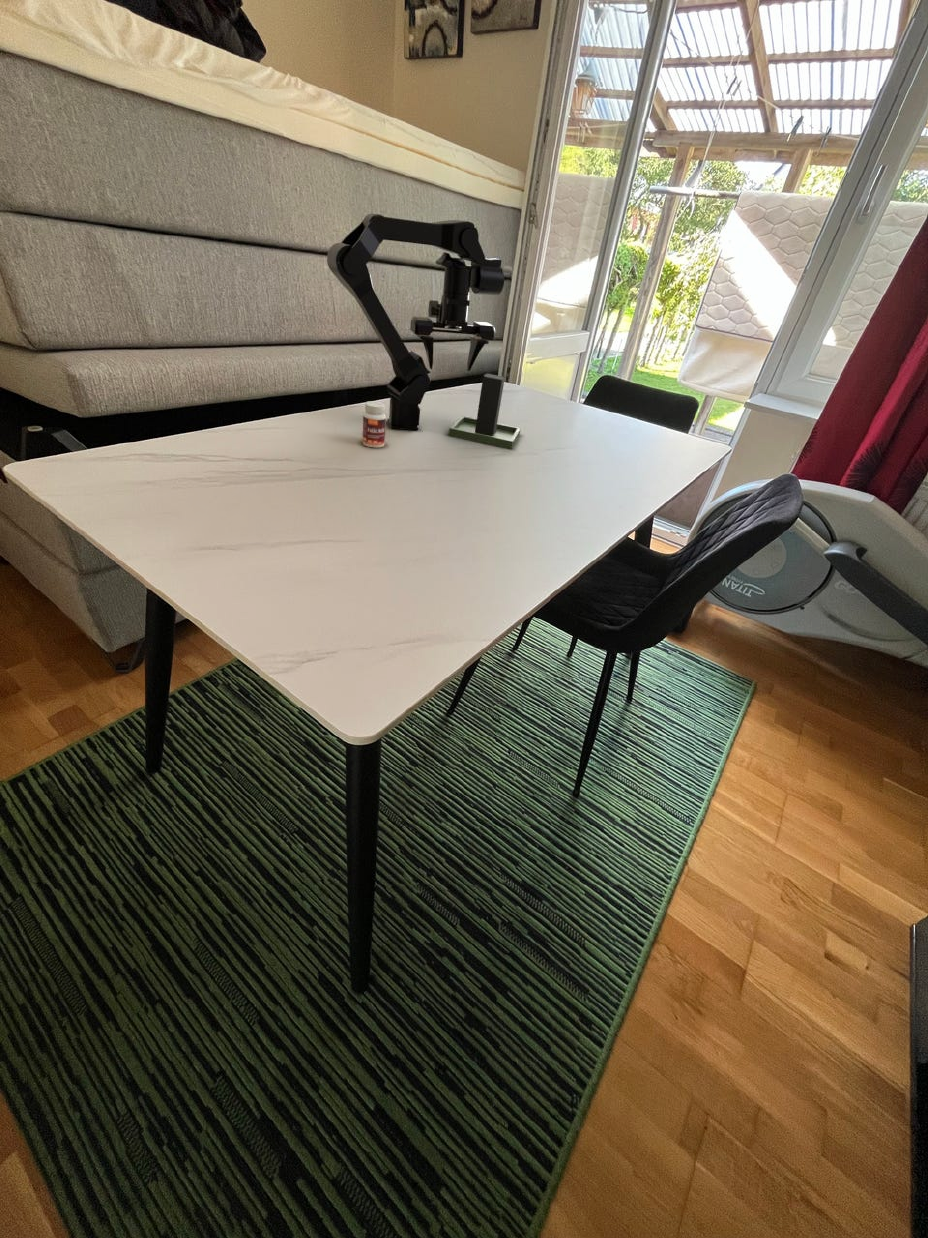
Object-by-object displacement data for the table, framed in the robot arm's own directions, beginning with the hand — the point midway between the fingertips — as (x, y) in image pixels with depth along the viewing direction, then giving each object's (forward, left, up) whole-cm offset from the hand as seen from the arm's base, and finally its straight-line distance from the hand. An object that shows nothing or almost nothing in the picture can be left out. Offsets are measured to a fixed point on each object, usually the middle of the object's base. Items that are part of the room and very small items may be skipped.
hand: (449, 369), depth 122 cm
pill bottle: (-20, -16, -13) cm, 29 cm away
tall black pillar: (+9, -6, -12) cm, 17 cm away
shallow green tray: (+9, -6, -13) cm, 17 cm away
